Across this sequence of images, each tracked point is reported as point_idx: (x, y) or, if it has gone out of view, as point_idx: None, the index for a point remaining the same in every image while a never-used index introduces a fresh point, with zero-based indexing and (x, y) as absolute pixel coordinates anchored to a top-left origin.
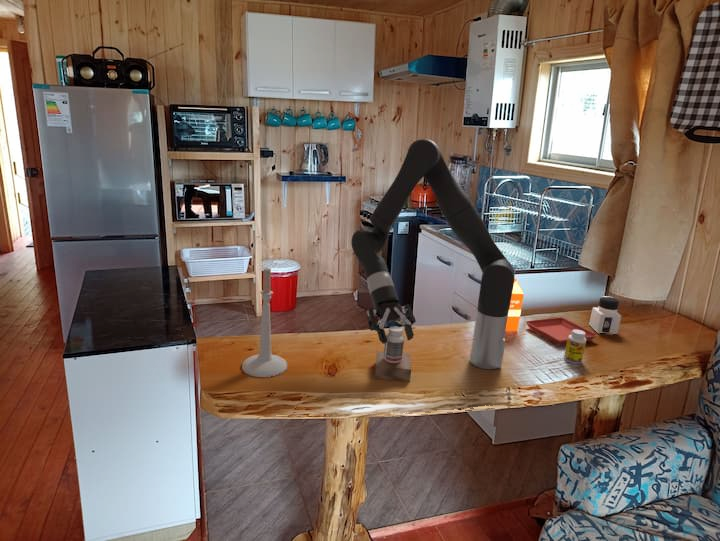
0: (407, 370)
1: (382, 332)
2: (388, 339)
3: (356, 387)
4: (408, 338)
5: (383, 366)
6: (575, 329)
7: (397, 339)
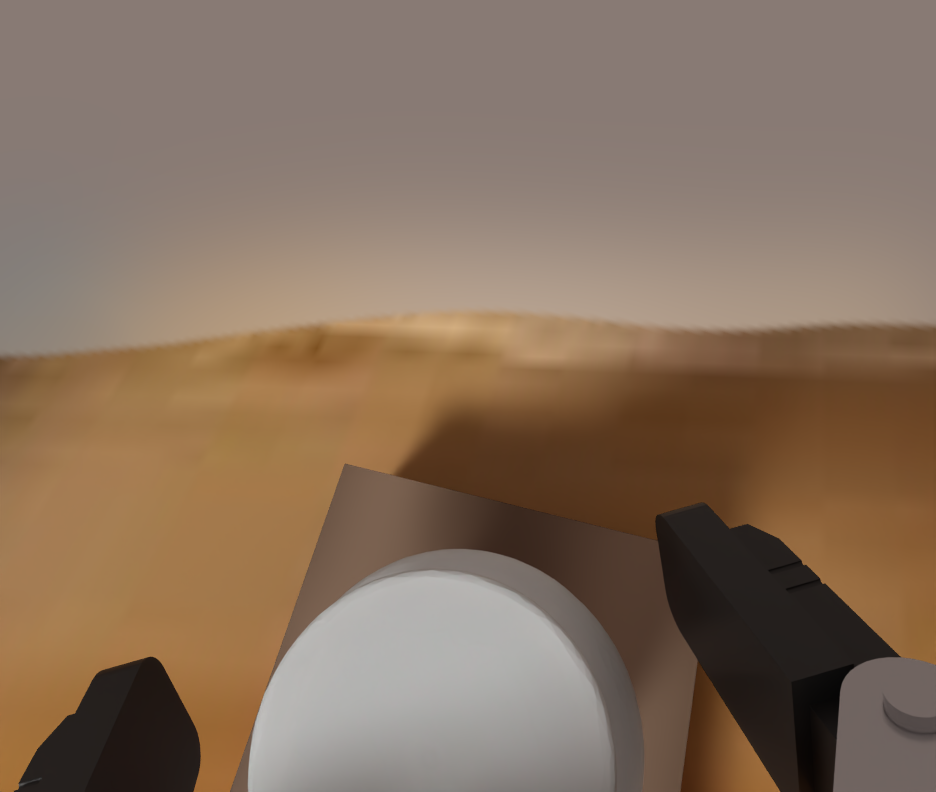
0: (382, 475)
1: (803, 623)
2: (608, 638)
3: (854, 438)
4: (185, 738)
5: (627, 540)
6: None
7: (449, 563)
